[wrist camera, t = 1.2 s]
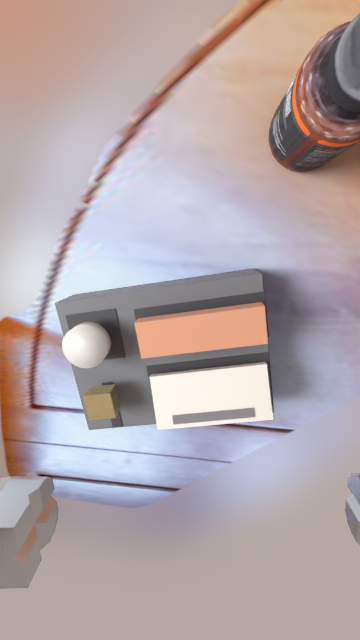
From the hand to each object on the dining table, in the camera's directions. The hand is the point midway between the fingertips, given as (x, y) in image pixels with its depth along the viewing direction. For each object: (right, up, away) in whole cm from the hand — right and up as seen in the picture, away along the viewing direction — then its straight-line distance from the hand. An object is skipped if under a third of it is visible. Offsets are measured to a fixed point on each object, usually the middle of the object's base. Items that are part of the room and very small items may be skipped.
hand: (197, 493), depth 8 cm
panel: (-1, +2, +23) cm, 23 cm away
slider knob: (-7, -2, +20) cm, 21 cm away
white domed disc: (-8, +3, +17) cm, 19 cm away
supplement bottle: (+10, +20, +17) cm, 28 cm away
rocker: (+2, -2, +18) cm, 18 cm away
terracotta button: (+1, +4, +16) cm, 17 cm away
